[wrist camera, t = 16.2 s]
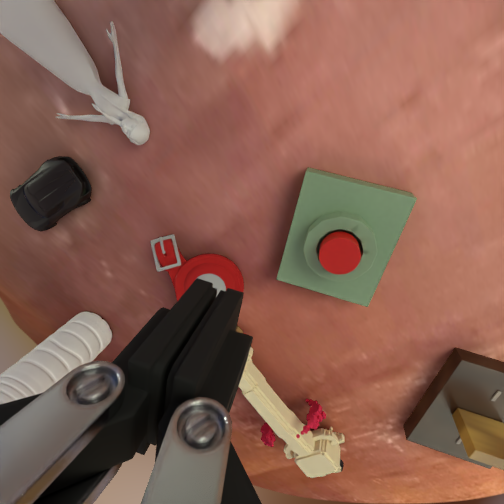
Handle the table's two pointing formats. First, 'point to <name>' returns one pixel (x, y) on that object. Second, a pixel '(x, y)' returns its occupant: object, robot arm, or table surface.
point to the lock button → (339, 253)
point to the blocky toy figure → (292, 426)
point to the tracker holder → (195, 267)
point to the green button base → (343, 220)
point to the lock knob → (481, 437)
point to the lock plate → (457, 402)
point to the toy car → (51, 193)
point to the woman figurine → (70, 60)
